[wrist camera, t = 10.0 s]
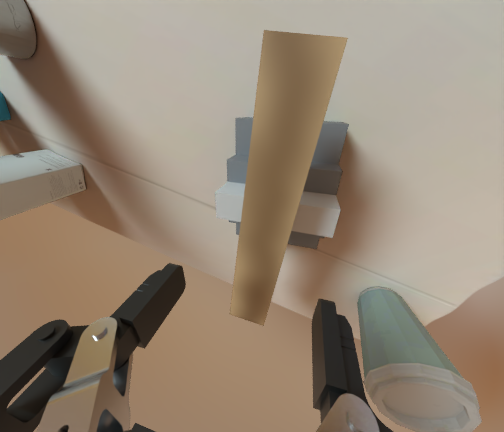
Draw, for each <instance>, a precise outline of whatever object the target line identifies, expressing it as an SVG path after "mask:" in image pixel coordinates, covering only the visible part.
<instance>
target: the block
mask: <svg viewBox="0 0 504 432" xmlns="http://www.w3.org/2000/svg"><path fill="white" fill-rule="evenodd" d="M10 119H11V116H10V113H9V110H8V107H7V104H6V101H5V98H4V96H3V94H2V93H1V92H0V121H3V120H10Z"/></svg>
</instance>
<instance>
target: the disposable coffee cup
mask: <svg viewBox="0 0 504 432" xmlns="http://www.w3.org/2000/svg"><path fill="white" fill-rule="evenodd" d="M357 304H358V314H359V325H360V335H361V346H362V356H363V367H364V377H365V380H364V381H363V383H364V384H365V387H366V391H367V392H368V394H369V396H370V398H371V399H372V401H373V403H374V404H376V406H377V408H378V410H379V411H380V412H381V413H382V414H384V415H385V416H386V417H388V418H389V419H390V420H392V421H393V422H395V423H396V424H398V425H400V426H403V427H405V428H408V429H411V430H413V431H416V432H472V431H473V430H474V429H475V428H476V427H477V426H478V425H479V424H480V423H481V422H482V421H481V417H480V415H479V409H480V407H479V404H478V400H477V396H476V393H475V391H474V390H473V388H472V384H471V383H470V382H468V381H467V380H465V379H464V378H463V377H462V376H461V375H460V373H459V372H458V371H457V369H456V368H455V367H454V365H453V364H452V363H451V362H450V360H449V359H448V358H447V356H446V355H445V354H444V352H443V351H442V350H441V349H440V347H439V346H438V344H437V343H436V342H435V340H434V339H433V338H432V337H431V335H430V334H429V333H428V331H427V330H426V329H425V327H424V326H423V325H422V323H421V322H420V321H419V320H418V318H417V317H416V316H415V314H414V313H413V312H412V310H411V309H410V308H409V307H408V305H407V304H406V303H405V301H404V300H403V299H402V297H401V296H399V295H398V294H397V293H395V292H394V291H392V290H391V289H389V288H383V287H374V288H368V289H366V290H365V291H363V292H362V293H361V294H360V296H359V299H358V303H357Z"/></svg>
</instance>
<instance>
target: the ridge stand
mask: <svg viewBox="0 0 504 432" xmlns="http://www.w3.org/2000/svg"><path fill="white" fill-rule="evenodd" d="M252 125H253V118H247V117H245V118H236V155H234V156H233V157H231V158H229V159H228V160H227V181H228V182H227V183H225V184H224V185H223V186H222V187H221V188H220V189H218V190H217V191H216V192H215V201H216V217H217V218H219V219H225V220H229V222H233V223H236V234H237V235H239V233H240V224H241V216H242V208H243V200H244V191H245V183H246V175H247V167H248V158H249V150H250V142H251V133H252ZM348 126H349V124H346V123H343V122H327V121H323V124H322V128H321V131H320V134H319V138H318V141H317V145H316V148H315V152H314V155H313V158H312V162H311V165H310V169H309V172H308V175H307V179H306V182H305V186H304V189H303V193H302V196H301V199H300V203H299V206H298V210H297V213H296V216H295V220H294V223H293V227H292V230H291V234H290V237H289V240H288V244H291V245H297V246H302V247H308V248H313V249H317V245H318V241H319V238H324V237H331V238H333V234H334V231H335V228H336V224H337V221H338V218H339V214H340V211H341V209H340V206H339V203H338V200H337V197H336V193H337V190H338V186H339V183H340V179H341V175H342V170H341V168H340V166H339V160H340V156H341V153H342V149H343V145H344V141H345V137H346V133H347V129H348Z"/></svg>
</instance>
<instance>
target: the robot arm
mask: <svg viewBox="0 0 504 432" xmlns="http://www.w3.org/2000/svg"><path fill="white" fill-rule="evenodd" d="M35 49H36V33H35V28H34V24H33V21H32V18H31V15H30V12H29V10H28V8H27V6H26V4H25V2H24V0H0V55H5V56H11V57H16V58H21V59H27V58H30V57H31V56H32V55H33V54H34V51H35ZM185 285H186V284H185V278H184V272H183V268H182V266H179V265H175V264H171V263H169V264H167V265H166V266H165V267H164V269H162V271H160V270H159V271H157V272H155V273H153V274H152V275H150V276H149V277H148V278H147V279H146V280H145V281H144V282H143V284H141V285H140V286H139V287H138V289H137V290H136V291H135V292H134V293H133V294H132V295H131V296H130V297H129V298H128V299H127V300H126V301H125V302H124V303H123V304H122V305H121V306H120V307H119V308H118V309H117V310H116V311H115V312H114V314H112V315H111V316H110V317H106V318H102V319H99V320H97V321H95V322H94V323H92V324H91V325H87V326H72V327H70V326H69V325H68V323H67V322H66V321H64V320H55V321H51V322H49V323H47V324H45V325H43V326H42V327H40V328H38V329H37V330H36V331H34V332H33V333H32V334H31V335H30V336H29V337H27V338H26V339H25V340H24V341H23V342H21V343H20V344H19V345H18V346H17V347H16V348H14V349H13V350H12V351H11V352H10V353H9V354H7V355H6V356H5V357H4V358H3V359H1V360H0V432H33V431H34V430H35V429H36V427H37V426H38V425H39V427H38V429H37V432H155V431H153V430H151V429H148V428H146V427H144V426H141V425H139V424H137V423H135V424H134V426H133V428H132V430H129V428H130V407H129V389H130V379H131V370H132V361H133V351H134V350H135V348H136V347H137V346H139V347H142V348H145V347H146V346H147V344H148V343H149V341H150V340H151V339H152V337H153V336H154V334H155V333H156V331H157V330H158V328H159V327H160V325H161V324H162V323H163V321H164V320H165V318H166V317H167V315H168V314H169V312H170V311H171V309H172V308H173V306H174V305H175V304H176V302H177V301H178V299H179V298H180V296H181V295H182V293H183V292H184V289H185ZM312 361H313V362H312V363H313V408H315V409H319V410H320V412H321V425H320V426H319V428H318V429H317V431H316V432H393V431H392V430H390V429H389V428H388V427H386V426H385V425H384V424H383V423H382V422H381V421H380V420H379V419H378V418H377V417H376V415H375V414H374V412H373V411H372V409H371V408H370V406H369V404H368V402H367V399H366V397H365V393H364V388H363V383H362V378H361V373H360V368H359V363H358V358H357V353H356V348H355V344H354V338H353V333H352V328H351V326H350V324H349V323H348V321H347V319H346V317H345V316H342V315H338V314H337V313H336V306H335V303H334V302H332V301H328V300H323V299H319V300H318V302H317V306H316V309H315V312H314V315H313V319H312ZM43 367H45V368H46V369H45V370H44V371H43V373H41V374H40V375H39V377H38V378H37V379H36V380H35V381H34V382H33V383H32V384H31V385H30V386H29V387H28V388H27V389H26V390H25V391H24V392H23V393H22V394H21V395H20V396H19V397H18V398H17V399H16V400H15V401H14V402H13V404H12V405H10V406H9V407H8V408H7V406H8V404H9V402H10V401H11V399H12V398H13V397H14V396H15V395H16V394H17V393H18V392H19V391H20V390H21V389H22V388H23V387H24V386H25V385H26V384H27V383H28V382H29V381H30V380H31V379H32V378H33V377H34V376H35V375H36V374H37V373H38V372H39V371H40V370H41V369H42V368H43Z"/></svg>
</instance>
